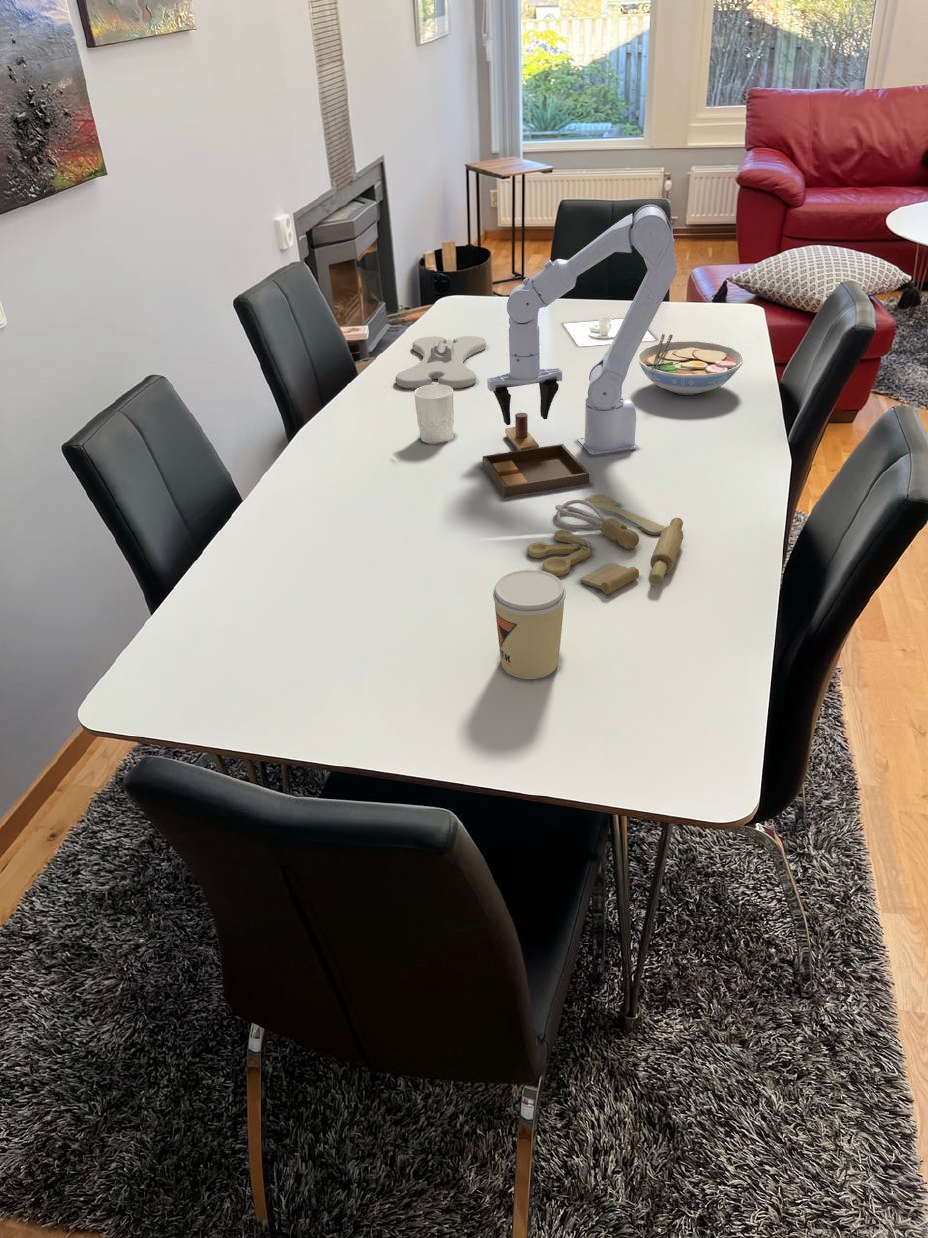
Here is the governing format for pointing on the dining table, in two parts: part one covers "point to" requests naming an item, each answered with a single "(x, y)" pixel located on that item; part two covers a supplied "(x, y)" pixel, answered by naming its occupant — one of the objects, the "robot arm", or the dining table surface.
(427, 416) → the white cup
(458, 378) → the holder
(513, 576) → the lidded cream canister
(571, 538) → the toy baking set
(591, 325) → the teacup and saucer
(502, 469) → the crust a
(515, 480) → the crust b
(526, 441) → the wooden stamp
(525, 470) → the tray
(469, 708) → the dining table surface
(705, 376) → the ramen bowl
